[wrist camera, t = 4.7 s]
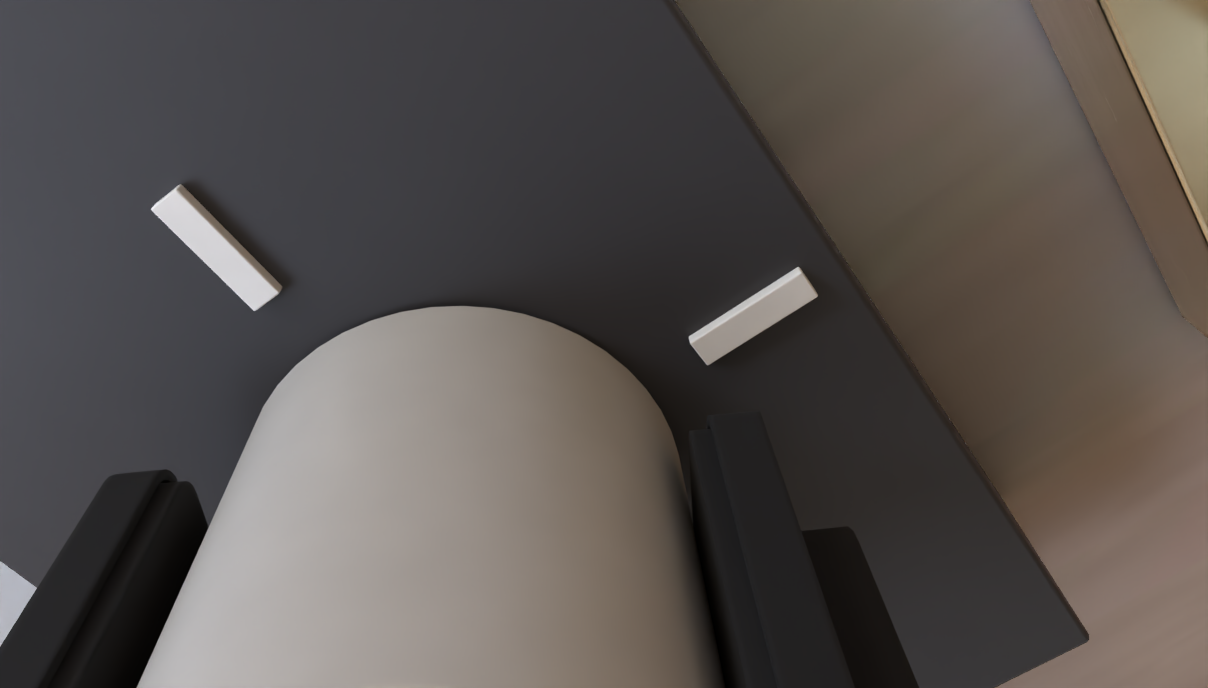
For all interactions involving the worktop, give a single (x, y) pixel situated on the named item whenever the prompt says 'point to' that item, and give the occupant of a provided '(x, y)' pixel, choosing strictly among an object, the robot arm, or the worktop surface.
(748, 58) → the worktop surface
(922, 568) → the panel
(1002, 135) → the worktop surface
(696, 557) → the knob
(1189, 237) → the button box
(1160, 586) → the worktop surface
